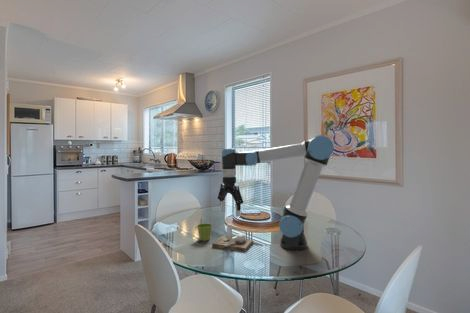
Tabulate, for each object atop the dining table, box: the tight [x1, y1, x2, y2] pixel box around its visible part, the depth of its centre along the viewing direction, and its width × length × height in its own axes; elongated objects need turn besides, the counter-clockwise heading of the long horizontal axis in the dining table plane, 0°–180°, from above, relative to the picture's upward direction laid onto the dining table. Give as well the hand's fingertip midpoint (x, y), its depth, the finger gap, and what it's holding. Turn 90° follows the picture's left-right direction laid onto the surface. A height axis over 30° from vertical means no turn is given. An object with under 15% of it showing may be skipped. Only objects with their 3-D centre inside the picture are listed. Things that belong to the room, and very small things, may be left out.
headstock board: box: [211, 235, 254, 252], centre depth 155 cm, size 20×16×2 cm
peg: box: [224, 223, 246, 243], centre depth 154 cm, size 15×6×11 cm, turn 128°
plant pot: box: [196, 223, 213, 242], centre depth 166 cm, size 9×9×9 cm
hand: (230, 214), depth 151 cm, fingers open, 13 cm apart
